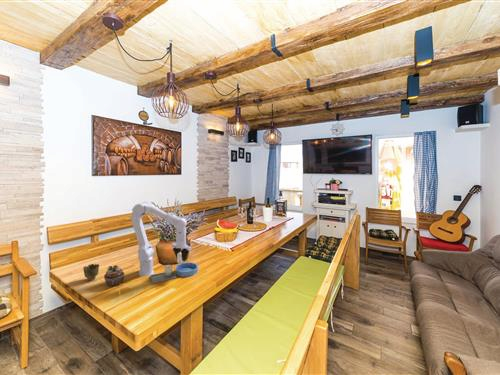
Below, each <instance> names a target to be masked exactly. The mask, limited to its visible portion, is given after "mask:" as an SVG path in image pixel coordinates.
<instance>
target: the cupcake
mask: <svg viewBox="0 0 500 375" xmlns="http://www.w3.org/2000/svg"><path fill="white" fill-rule="evenodd" d="M124 276H125V272H124V271H123V269H122V268H120V266H118V265H110V266H108V267H107V271H106V272H105V274H104V276H103V278H104V282H105V285H106V287H108V288H111V287H117V286H119V285H121V283H123V282H124Z"/></svg>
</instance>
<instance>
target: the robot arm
mask: <svg viewBox="0 0 500 375" xmlns="http://www.w3.org/2000/svg"><path fill="white" fill-rule="evenodd" d="M131 209H132V212H131V216H130V220H131V223H132V227H133V230H134V233H135V237H136V240H137V243H138V249H137V253H138V254H137V258H138V260H139V270H138V273H139V278H142V277H147V276H150V275H154V274H155V271H154V265H153V264H154V263H153V261H154V257H153V255H155V248H154V247H153V246H152V244H151V243H150V242H149V240H148V236H147V233H146V229H145V226H144V222H143V219H142V218H143V217H144V216H145V214H153V215H156V216H158V217H160V218H163V219H164V222H166V223H168V224H170V225H171V226H174V227H175V229H176V231H175V234H176V235H175V236H176V237H175V239H176V242H172V243H171V248H172V247H173V248H172V252H174V255H175V258H176V260H177V253H179V252H181V253H182V261H185V262H186V260H187V257H188V253H189V252H190V251H192V246H190V245H188V244H187V224H188V221H187V219H186V218H185V217H181V216H178V215H175V213H174V212H168V213H167V212H165V211H163V210H162V209H160V208H158V207H156V206H155V205H153V204H152V203H149V202H147V201H144V202H141V203H137V204H135V205H134V206H133V207H132V208H131Z"/></svg>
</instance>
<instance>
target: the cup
mask: <svg viewBox="0 0 500 375" xmlns="http://www.w3.org/2000/svg"><path fill="white" fill-rule="evenodd" d="M82 270H83V274H84V277H85V278H86V279H87V280H88V281H94V280H95V279H96V277H97V276H98V274H99V270H100V264H99V263H97V264H96V263H94V264H93V263H91V264H88V265H87V266H86V265H85V266H83V268H82Z"/></svg>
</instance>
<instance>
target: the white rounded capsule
mask: <svg viewBox="0 0 500 375" xmlns="http://www.w3.org/2000/svg"><path fill="white" fill-rule="evenodd" d="M176 262H177V264H178V265H179V264H181V263H186V260H185V261H182V253H181V251H180V252H179V253H177V259H176Z"/></svg>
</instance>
